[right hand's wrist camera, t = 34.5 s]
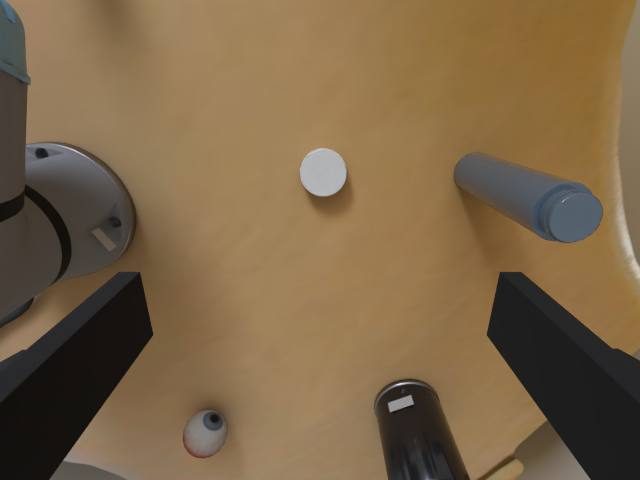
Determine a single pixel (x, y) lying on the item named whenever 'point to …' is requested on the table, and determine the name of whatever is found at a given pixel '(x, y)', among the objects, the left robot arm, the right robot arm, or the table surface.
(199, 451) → the eyeball
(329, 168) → the lid
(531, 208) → the bottle
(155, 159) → the table surface
